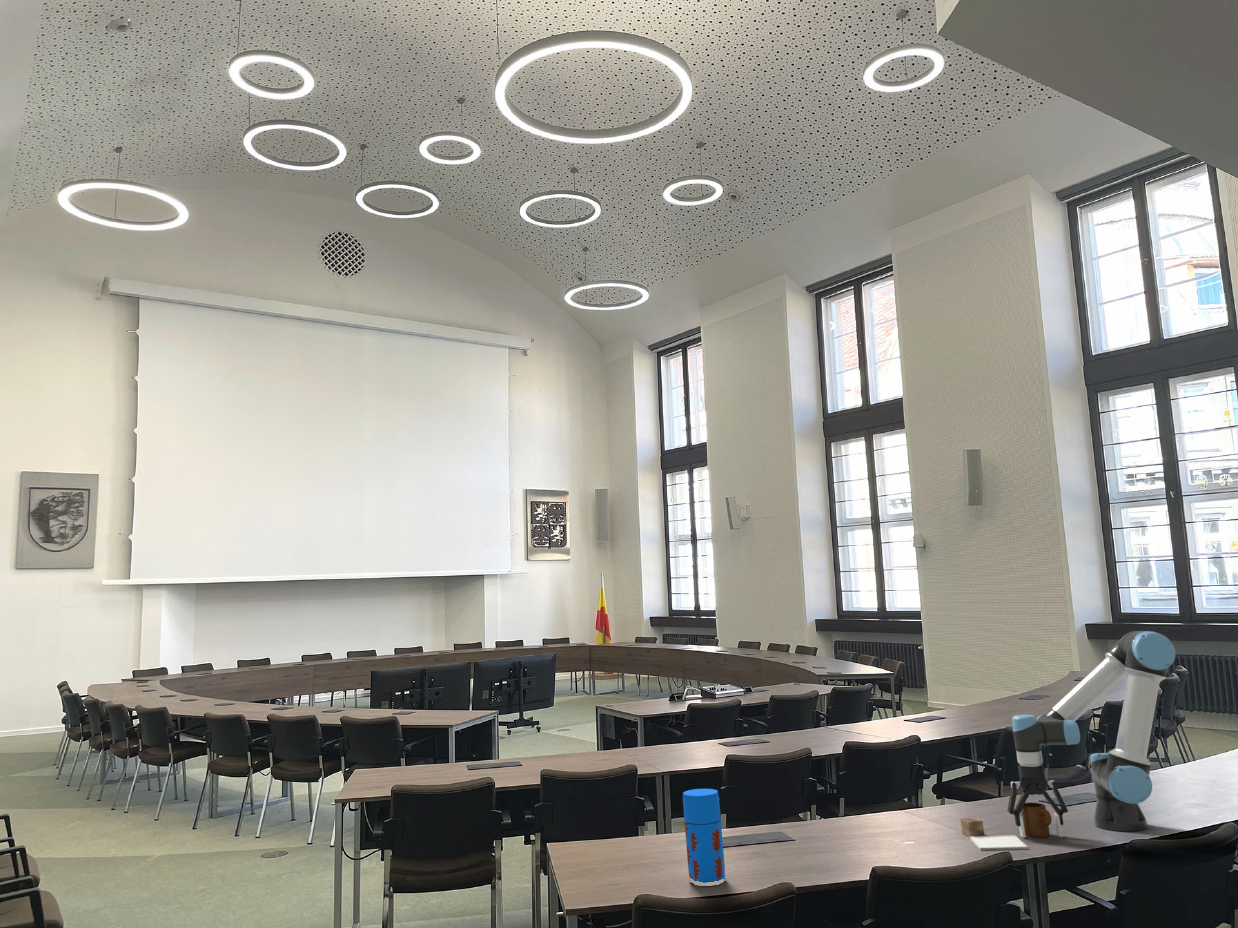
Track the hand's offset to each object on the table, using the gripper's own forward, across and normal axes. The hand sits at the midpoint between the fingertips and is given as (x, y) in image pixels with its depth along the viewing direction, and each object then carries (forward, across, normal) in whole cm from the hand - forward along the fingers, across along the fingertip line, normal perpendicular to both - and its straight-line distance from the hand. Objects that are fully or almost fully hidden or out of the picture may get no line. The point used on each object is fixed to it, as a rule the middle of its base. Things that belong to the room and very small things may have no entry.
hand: (1041, 836), depth 270 cm
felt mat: (0, +15, +7) cm, 16 cm away
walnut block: (0, +20, -4) cm, 20 cm away
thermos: (+1, +105, +40) cm, 112 cm away
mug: (0, 0, 0) cm, 0 cm away
